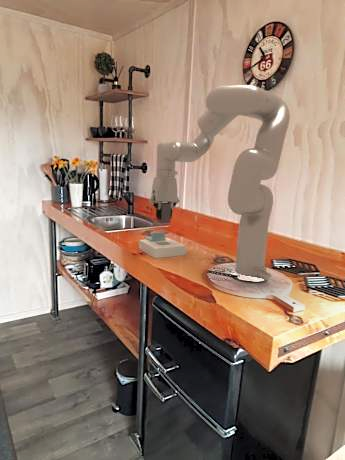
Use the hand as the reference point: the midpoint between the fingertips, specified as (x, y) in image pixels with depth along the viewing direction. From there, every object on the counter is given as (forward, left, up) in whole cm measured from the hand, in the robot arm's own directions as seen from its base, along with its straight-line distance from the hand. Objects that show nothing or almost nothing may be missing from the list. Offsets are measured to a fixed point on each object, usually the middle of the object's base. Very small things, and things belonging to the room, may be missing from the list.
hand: (163, 218), depth 134 cm
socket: (0, 0, -15) cm, 15 cm away
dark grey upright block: (0, 0, -2) cm, 2 cm away
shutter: (+8, 0, -11) cm, 13 cm away
